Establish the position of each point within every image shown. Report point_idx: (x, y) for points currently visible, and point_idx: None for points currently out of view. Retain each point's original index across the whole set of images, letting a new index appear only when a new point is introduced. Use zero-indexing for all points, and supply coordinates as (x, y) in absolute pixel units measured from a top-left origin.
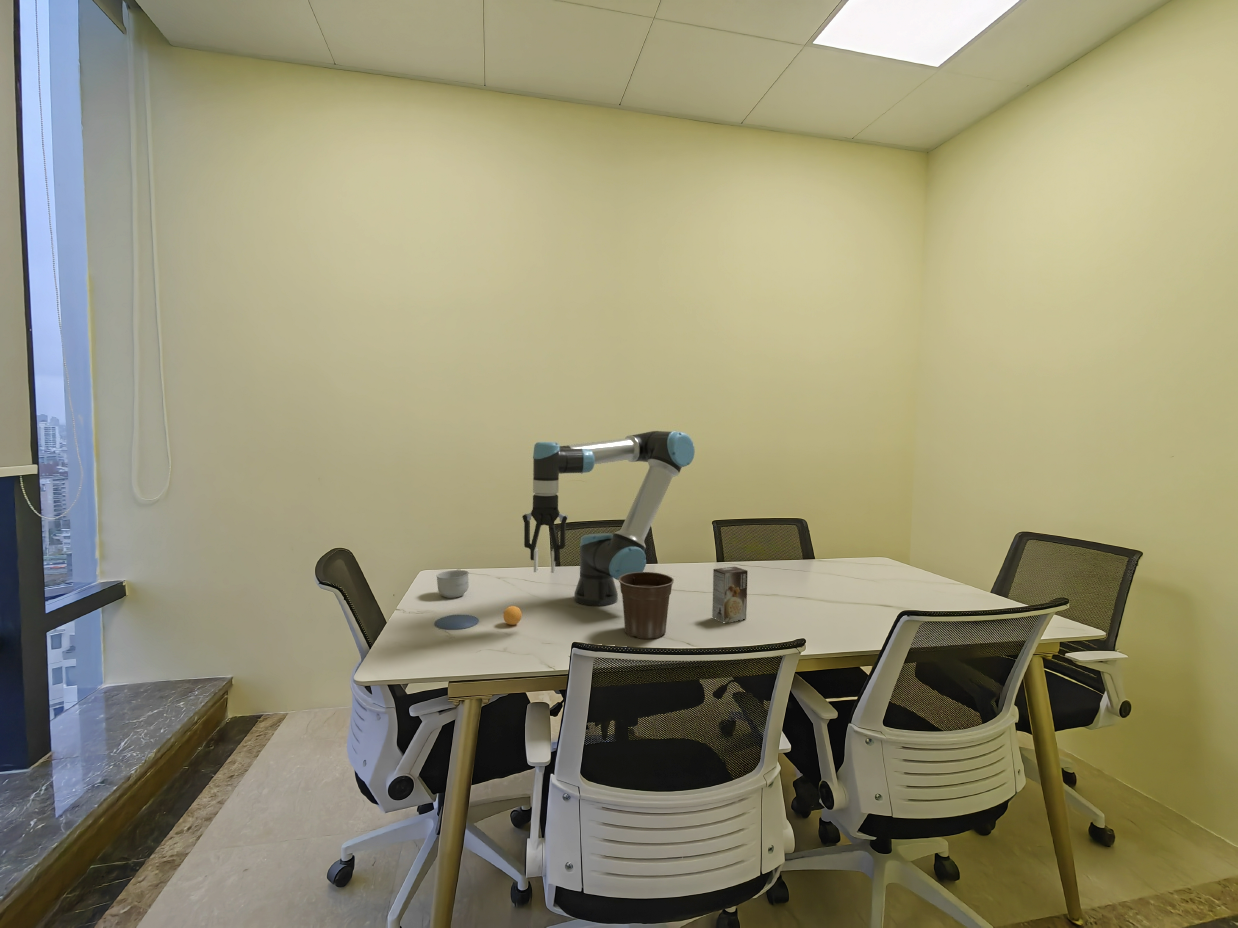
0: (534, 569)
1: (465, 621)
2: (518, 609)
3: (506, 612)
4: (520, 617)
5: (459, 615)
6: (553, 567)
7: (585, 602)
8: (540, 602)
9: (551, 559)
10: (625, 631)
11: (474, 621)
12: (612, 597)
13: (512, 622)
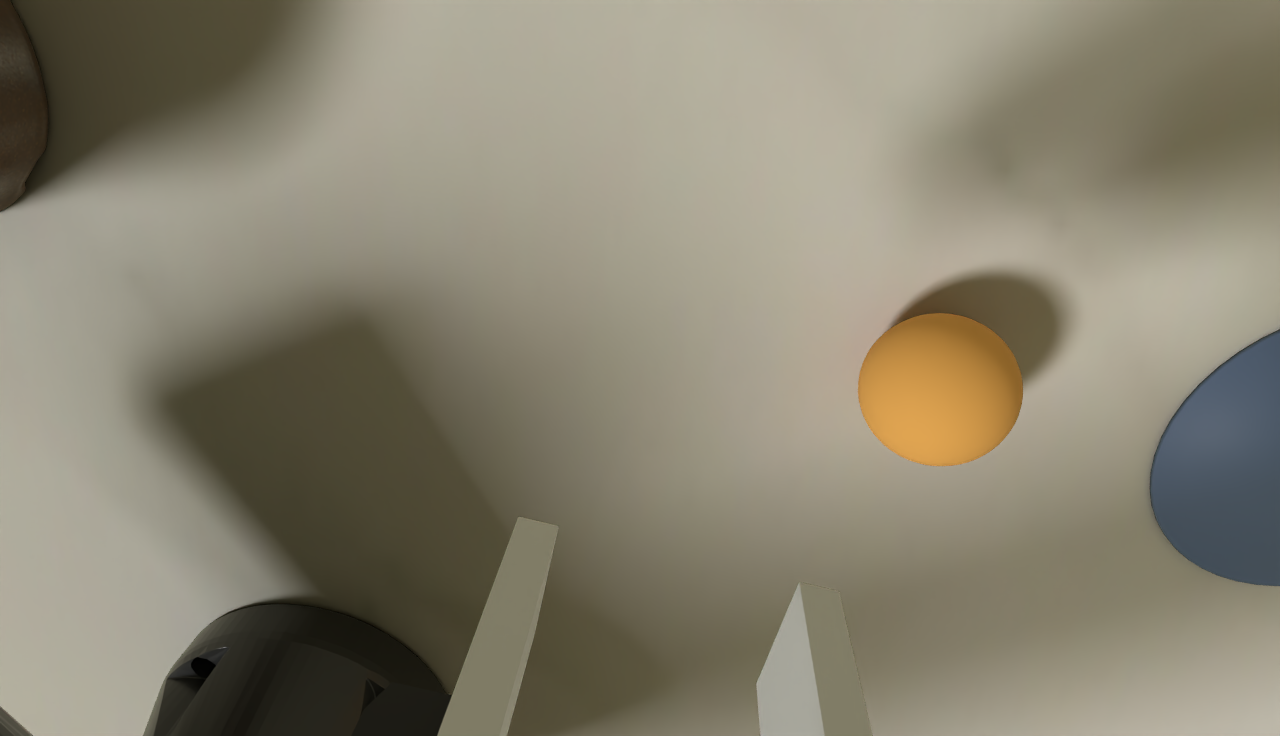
0: (832, 618)
1: (1265, 449)
2: (903, 397)
3: (1011, 371)
4: (873, 350)
5: (1272, 567)
6: (499, 576)
7: (375, 642)
8: (671, 710)
9: (501, 712)
10: (28, 48)
11: (1196, 440)
12: (183, 656)
13: (937, 313)
